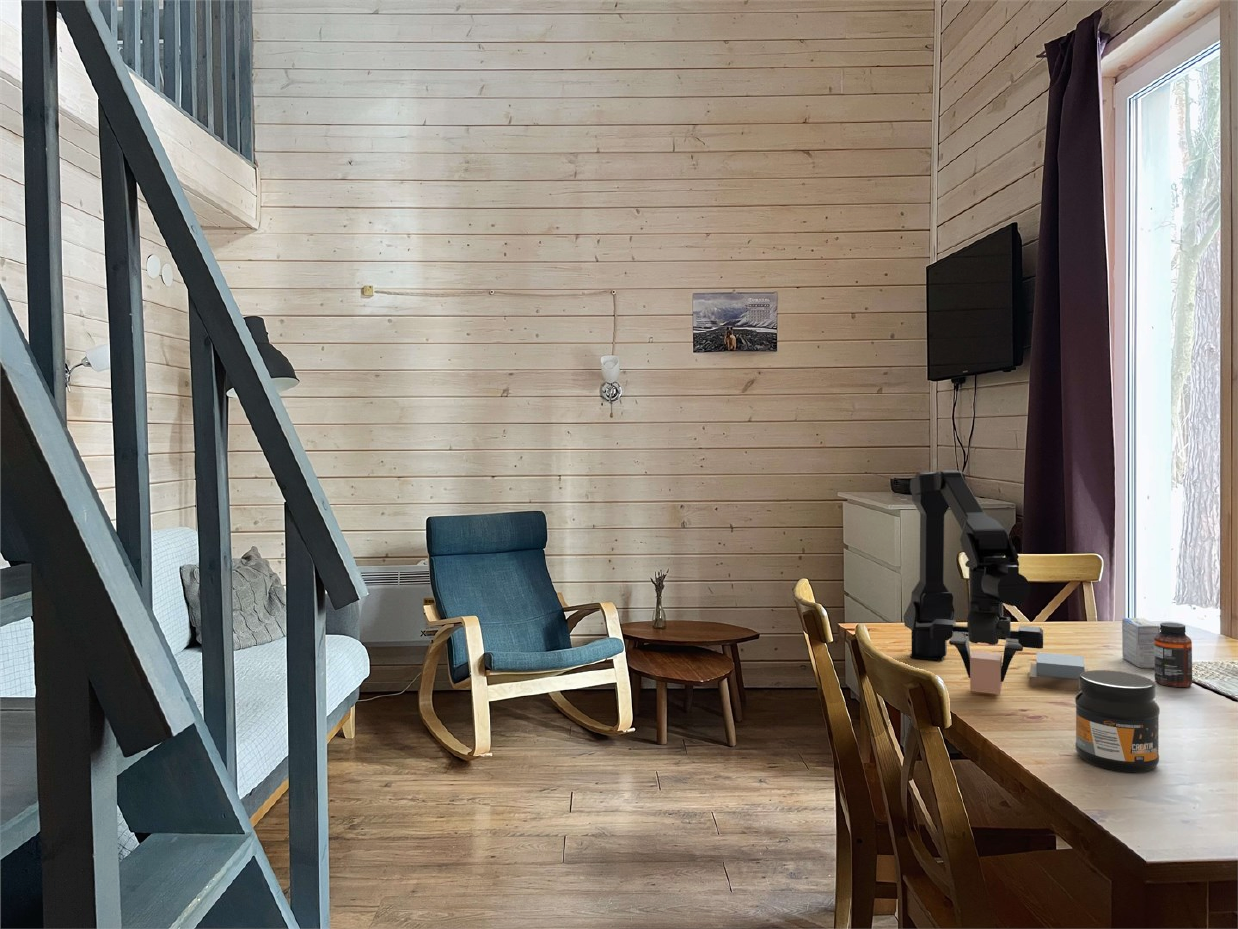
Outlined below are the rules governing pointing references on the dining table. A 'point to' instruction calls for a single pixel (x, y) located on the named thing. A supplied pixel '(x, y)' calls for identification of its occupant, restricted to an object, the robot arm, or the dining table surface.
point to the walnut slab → (1052, 681)
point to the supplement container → (1117, 721)
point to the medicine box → (1139, 641)
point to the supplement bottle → (1173, 656)
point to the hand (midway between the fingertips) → (986, 679)
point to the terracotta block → (985, 672)
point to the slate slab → (1059, 665)
